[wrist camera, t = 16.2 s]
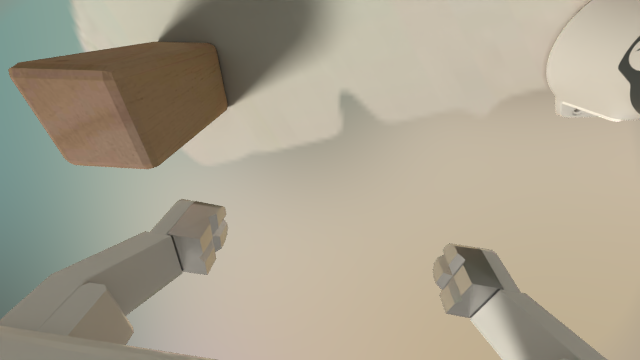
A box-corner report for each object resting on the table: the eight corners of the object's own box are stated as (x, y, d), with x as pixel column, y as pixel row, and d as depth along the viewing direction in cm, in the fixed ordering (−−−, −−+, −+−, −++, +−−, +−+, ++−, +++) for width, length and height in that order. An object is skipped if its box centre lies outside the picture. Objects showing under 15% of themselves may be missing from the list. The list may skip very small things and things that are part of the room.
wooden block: (152, 40, 36) (-7, 64, 20) (217, 42, 36) (108, 67, 19) (174, 107, 42) (65, 168, 26) (231, 109, 41) (155, 173, 25)
